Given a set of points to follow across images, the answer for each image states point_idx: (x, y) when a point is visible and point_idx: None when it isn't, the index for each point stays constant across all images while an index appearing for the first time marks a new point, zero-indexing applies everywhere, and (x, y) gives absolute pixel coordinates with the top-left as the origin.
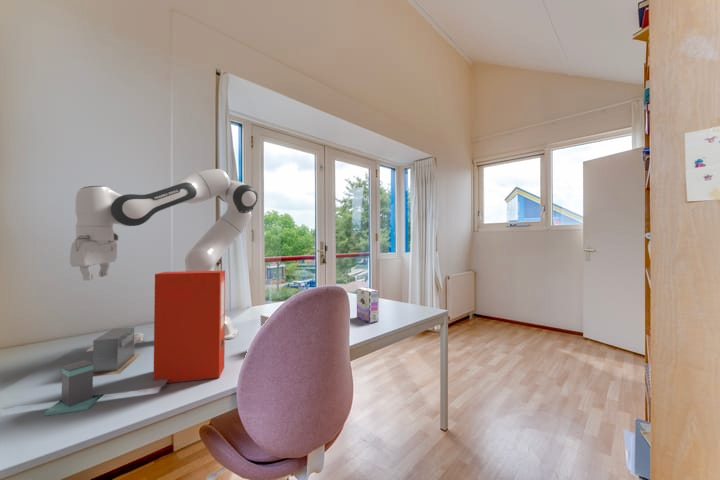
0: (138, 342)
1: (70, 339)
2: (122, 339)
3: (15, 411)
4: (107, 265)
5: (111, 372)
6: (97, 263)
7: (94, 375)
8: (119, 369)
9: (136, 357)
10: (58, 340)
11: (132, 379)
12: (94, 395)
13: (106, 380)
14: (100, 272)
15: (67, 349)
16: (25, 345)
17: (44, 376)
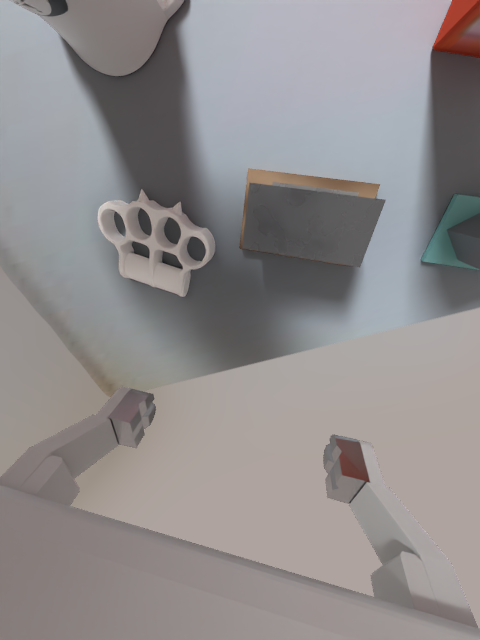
0: (150, 202)
1: (90, 339)
2: (344, 194)
3: (418, 315)
4: (61, 462)
5: None
6: (331, 597)
7: None
8: None
9: (276, 173)
10: (93, 353)
11: (408, 148)
12: (476, 207)
13: None
14: (139, 435)
15: (144, 329)
16: (112, 382)
17: (274, 323)
